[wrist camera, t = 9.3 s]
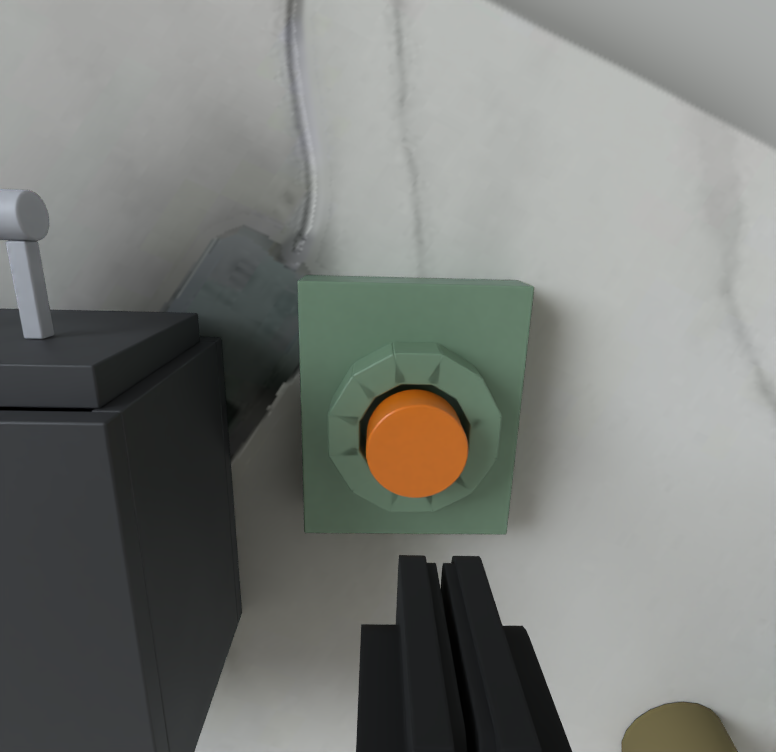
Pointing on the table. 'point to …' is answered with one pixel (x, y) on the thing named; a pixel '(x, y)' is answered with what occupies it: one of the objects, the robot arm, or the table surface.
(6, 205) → the drawer
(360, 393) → the control block
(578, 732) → the table surface
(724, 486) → the table surface
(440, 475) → the button
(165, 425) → the dark grey drawer cabinet
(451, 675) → the robot arm
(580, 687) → the table surface
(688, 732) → the olive green pawn
